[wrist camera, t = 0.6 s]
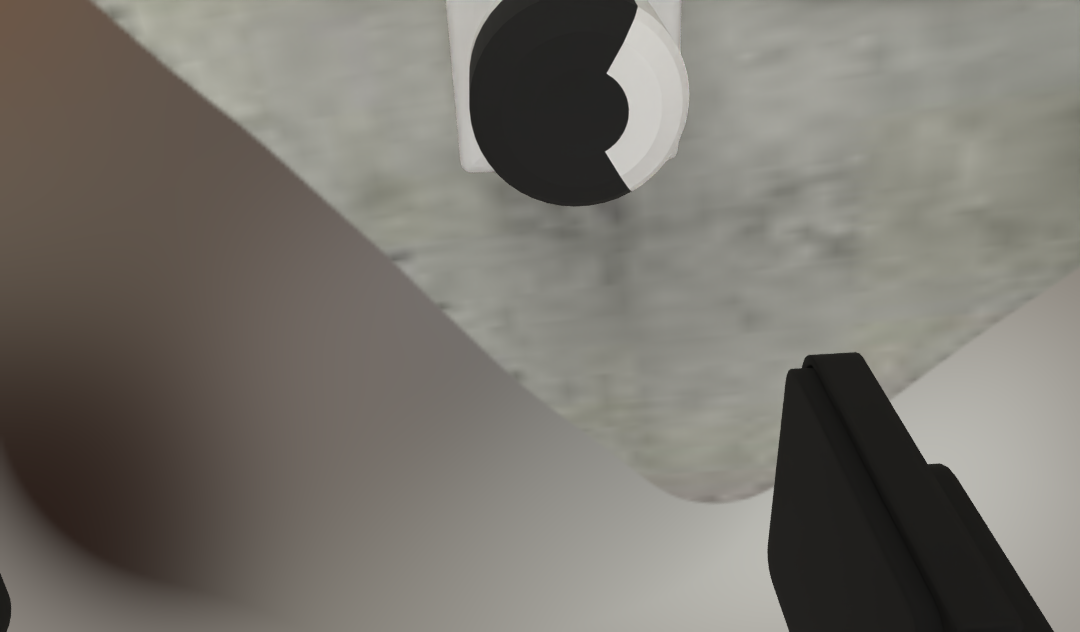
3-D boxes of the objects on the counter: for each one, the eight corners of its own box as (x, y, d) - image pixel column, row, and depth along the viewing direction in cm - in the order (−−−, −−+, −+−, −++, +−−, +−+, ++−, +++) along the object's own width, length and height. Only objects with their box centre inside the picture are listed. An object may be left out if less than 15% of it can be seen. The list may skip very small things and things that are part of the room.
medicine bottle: (462, 105, 40) (460, 243, 29) (444, -92, 36) (435, -15, 26) (647, 93, 40) (710, 225, 29) (648, -105, 36) (720, -33, 26)
